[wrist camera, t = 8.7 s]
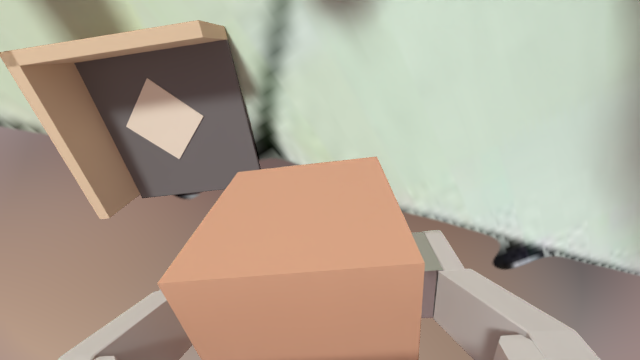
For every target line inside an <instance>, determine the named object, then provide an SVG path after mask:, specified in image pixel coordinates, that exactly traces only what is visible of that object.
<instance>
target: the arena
mask: <svg viewBox="0 0 640 360" xmlns="http://www.w3.org/2000/svg"><path fill="white" fill-rule="evenodd" d="M0 57H1V58H2V60H3V62H4V63H5V65H6V67H7V68H8V70H9V72H10V73H11V75H12V76H13V78H14V80H15V81H16V83H17V85H18V86H19V88H20V89H21V91H22V93H23V94H24V96H25V98H26V99H27V101H28V102H29V104H30V106H31V107H32V109H33V111H34V112H35V114H36V116H37V117H38V119H39V120H40V122H41V124H42V125H43V127H44V129H45V130H46V132H47V133H48V135H49V136H50V138H51V140H52V141H53V143H54V145H55V146H56V148H57V150H58V151H59V153H60V155H61V156H62V158H63V159H64V161H65V163H66V164H67V166H68V168H69V169H70V171H71V172H72V174H73V176H74V177H75V179H76V180H77V182H78V184H79V185H80V187H81V189H82V190H83V192H84V194H85V195H86V197H87V198H88V200H89V202H90V203H91V205H92V207H93V208H94V210H95V211H96V213H97V215H98V216H99V218H100V219H106V218H111V217H112V216H113V215H114V214H116V213H117V212H118V211H120V210H121V209H122V208H123V207H125V206H126V205H127V204H129V203H130V202H131V201H132V200H134V199H135V198H136V197H138V196H139V195H140V194H141V196H142V198H148V197H156V196H167V195H176V194H185V193H194V192H203V191H212V190H222V189H226V188H227V186H228V185H229V183H230V182H231V181H232V179H233V178H234V177H235V175H236V174H237V172H243V171H252V170H261V168H260V164H259V160H258V157H257V153H256V149H255V145H254V141H253V137H252V133H251V129H250V125H249V121H248V117H247V113H246V109H245V106H244V102H243V98H242V94H241V90H240V86H239V82H238V78H237V74H236V70H235V66H234V62H233V58H232V55H231V51H230V47H229V43H228V39H227V35H226V31H225V27H224V26H221V25H216V24H212V23H208V22H204V21H199V20H197V21H190V22H184V23H178V24H172V25H166V26H160V27H153V28H147V29H141V30H135V31H129V32H122V33H116V34H110V35H104V36H98V37H91V38H85V39H79V40H73V41H67V42H60V43H54V44H48V45H42V46H36V47H30V48H23V49H17V50H11V51H5V52H0Z"/></svg>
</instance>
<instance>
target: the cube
mask: <svg viewBox="0 0 640 360" xmlns="http://www.w3.org/2000/svg"><path fill="white" fill-rule="evenodd" d="M424 270H425V262H424V260H423V258H422V256H421V253H420V251H419V249H418V247H417V244H416V242H415V240H414V238H413V236H412V233H411V231H410V229H409V227H408V225H407V222H406V220H405V218H404V216H403V214H402V211H401V209H400V207H399V205H398V202H397V200H396V198H395V196H394V194H393V191H392V189H391V187H390V185H389V183H388V180H387V178H386V176H385V174H384V172H383V169H382V167H381V165H380V163H379V160H378V158H377V157H369V158H360V159H351V160H342V161H333V162H324V163H315V164H306V165H297V166H288V167H279V168H270V169H261V170H252V171H243V172H237V174H236V175H235V177H234V178H233V179H232V181H231V182H230V183H229V185H228V186H227V188H226V189H225V190H224V192H223V193H222V195H221V196H220V197H219V199H218V200H217V202H216V203H215V204H214V206H213V207H212V208H211V210H210V211H209V213H208V214H207V215H206V217H205V218H204V219H203V221H202V222H201V224H200V225H199V226H198V228H197V229H196V231H195V232H194V233H193V235H192V236H191V238H190V239H189V240H188V242H187V243H186V244H185V246H184V247H183V249H182V250H181V251H180V253H179V254H178V255H177V257H176V258H175V260H174V261H173V262H172V264H171V265H170V267H169V268H168V269H167V271H166V272H165V273H164V275H163V276H162V278H161V279H160V280H159V282H158V283H157V284H158V286H159V287H160V289H161V291H162V293H163V294H164V296H165V298H166V300H167V301H168V303H169V305H170V307H171V308H172V310H173V312H174V313H175V315H176V317H177V319H178V320H179V322H180V324H181V325H182V327H183V329H184V331H185V332H186V334H187V336H188V337H189V339H190V341H191V343H192V344H193V346H194V348H195V349H196V351H197V353H198V354H199V356H200V358H201V360H418V357H419V343H420V328H421V314H422V299H423V284H424Z"/></svg>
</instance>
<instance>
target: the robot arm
mask: <svg viewBox="0 0 640 360" xmlns="http://www.w3.org/2000/svg"><path fill="white" fill-rule="evenodd" d="M412 236H413V238H414V240H415V242H416V244H417V247H418V249H419V251H420V253H421V256H422V258H423V260H424V262H425V270H424V284H423V299H422V314H421V318H434V320H435V321H436V322H437V323H438V324H439V325H440V326H441V327H442V328H443V329H444V330H445V331H446V332H447V333H448V334H449V335H450V336H451V337H452V338H453V339H454V340H455V341H456V342H457V343H458V344H459V345H460V346H461V347H462V348H463V349H464V350H465V351H466V352H467V353H468V354H469V355H470V356H471V357H472V358H473V359H474V360H600V358H599V357H598V356H597V355H596V354H595V353H594V352H593V351H592V349H591V348H590V347H589V346H588V345H587V344H586V343H585V341H584V340H583V339H582V338H581V337H580V336H579V334H578V333H577V332H576V331H575V330H573V329H572V328H570V327H568V326H566V325H565V324H563V323H562V322H560V321H558V320H556V319H555V318H553V317H551V316H550V315H548V314H546V313H545V312H543V311H541V310H540V309H538V308H536V307H534V306H533V305H531V304H529V303H528V302H526V301H524V300H523V299H521V298H519V297H518V296H516V295H514V294H512V293H511V292H509V291H507V290H506V289H504V288H502V287H501V286H499V285H497V284H496V283H494V282H492V281H490V280H489V279H487V278H485V277H484V276H482V275H480V274H479V273H477V272H475V271H474V270H472V269H465V268H464V267H463V265H462V263H461V262H460V260H459V259H458V257H457V256H456V254H455V253H454V251H453V249H452V248H451V246H450V244H449V243H448V241H447V240H446V238H445V237H444V235H443V234H442V232H441V231H440V230H433V231H424V232H418V233H412ZM192 345H193V344H192V343H191V341H190V339H189V337H188V336H187V334H186V332H185V331H184V329H183V327H182V325H181V324H180V322H179V320H178V319H177V317H176V315H175V313H174V312H173V310H172V308H171V307H170V305H169V303H168V301H167V300H166V298H165V296H164V294H163V293H162V291H161V289H160V290H159V291H158V292H153V293H151V294H150V295H149V296H147V297H146V298H144V299H143V300H141V301H140V302H138V303H137V304H136V305H134V306H133V307H131V308H130V309H128V310H127V311H125V312H124V313H123V314H121V315H120V316H118V317H117V318H116V319H114V320H112V321H111V322H110V323H108V324H107V325H105V326H104V327H102V328H101V329H100V330H98V331H97V332H95V333H94V334H92V335H91V336H89V337H88V338H87V339H85V340H84V341H82V342H81V343H79V344H78V345H76V346H75V347H74V348H72V349H71V350H69V351H68V352H66V353H65V354H64V355H62V356H61V357H60V358H59V359H58V360H179V359H180V358H181V357H182V356H183V355H184V353H185V352H186V351H187V350H188V349H189V348H190V347H191V346H192Z"/></svg>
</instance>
